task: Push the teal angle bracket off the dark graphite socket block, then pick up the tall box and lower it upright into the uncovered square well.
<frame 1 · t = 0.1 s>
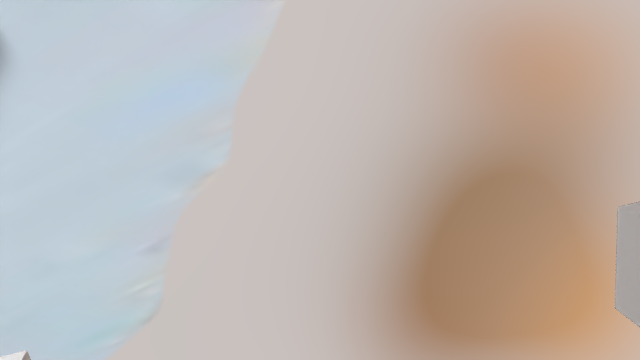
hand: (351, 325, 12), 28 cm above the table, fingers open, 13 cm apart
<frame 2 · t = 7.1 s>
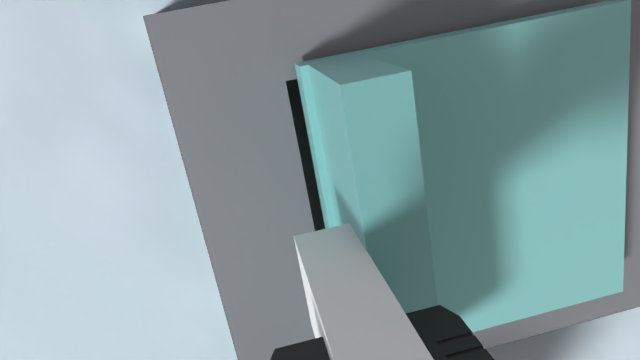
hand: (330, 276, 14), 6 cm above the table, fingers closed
socket block: (466, 155, 20), on the table
teal angle bracket: (508, 211, 15), point 5 cm above the table, slide at 0.8 cm, touching gripper
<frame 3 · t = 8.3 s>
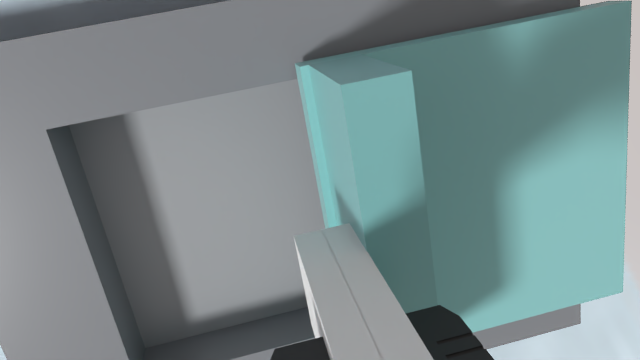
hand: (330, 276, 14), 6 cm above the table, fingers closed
socket block: (290, 196, 19), on the table
teal angle bracket: (508, 212, 15), point 5 cm above the table, slide at 7.8 cm, touching gripper
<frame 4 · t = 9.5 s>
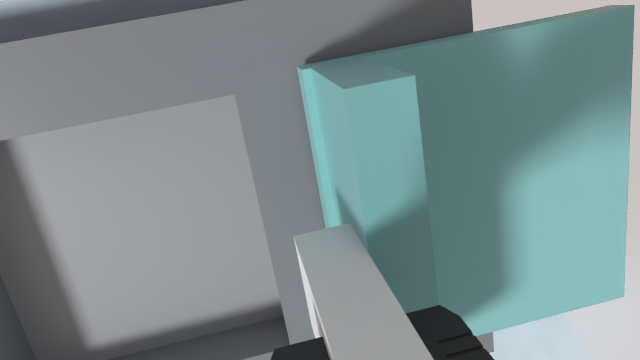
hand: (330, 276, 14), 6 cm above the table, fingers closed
socket block: (191, 221, 19), on the table
teal angle bracket: (509, 216, 15), point 5 cm above the table, slide at 11.4 cm, touching gripper
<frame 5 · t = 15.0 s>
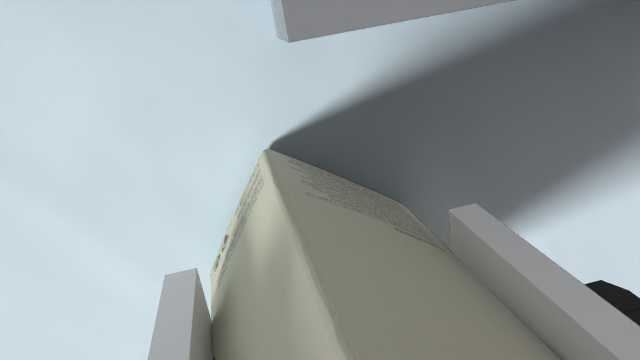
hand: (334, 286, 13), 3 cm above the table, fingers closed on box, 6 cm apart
box: (314, 235, 16), on the table, touching gripper
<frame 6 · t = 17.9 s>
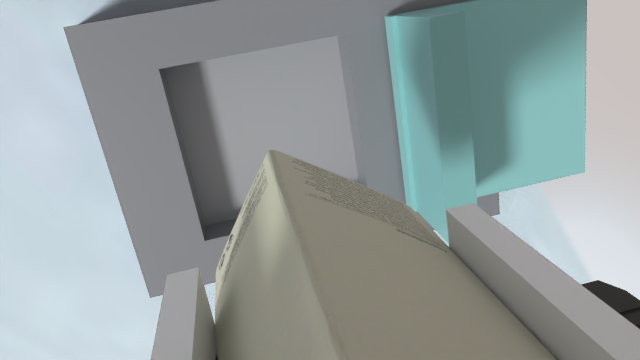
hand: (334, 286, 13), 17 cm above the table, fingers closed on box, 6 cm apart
socket block: (303, 123, 29), on the table
teal angle bracket: (511, 106, 25), point 5 cm above the table, slide at 11.4 cm
box: (318, 235, 16), point 13 cm above the table, touching gripper
when the fingers open (4 cm above the table, at t = 20.1 s): box stays where it is, resting on socket block.
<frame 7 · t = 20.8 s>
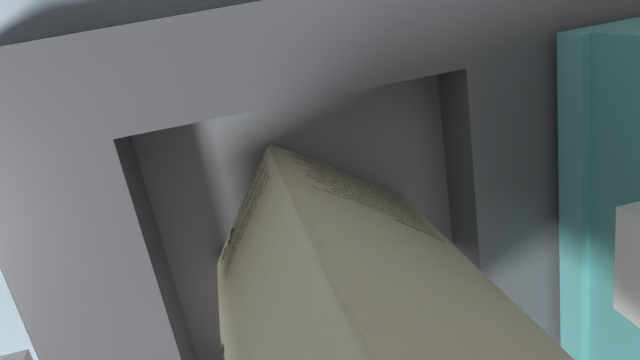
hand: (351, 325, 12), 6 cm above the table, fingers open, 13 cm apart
socket block: (371, 213, 17), on the table
box: (317, 228, 17), resting on socket block
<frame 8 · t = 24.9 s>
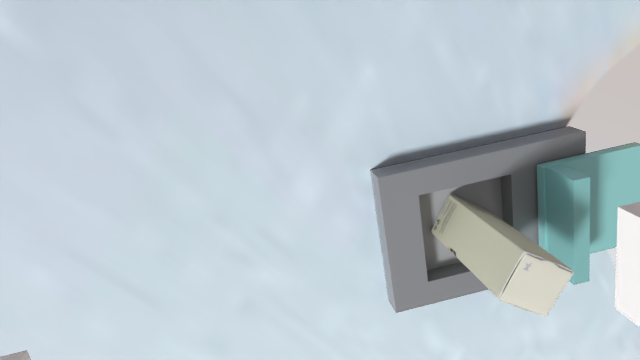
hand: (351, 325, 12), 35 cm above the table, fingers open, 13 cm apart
socket block: (476, 215, 52), on the table
teal angle bracket: (603, 212, 48), point 5 cm above the table, slide at 11.9 cm
box: (460, 219, 51), resting on socket block
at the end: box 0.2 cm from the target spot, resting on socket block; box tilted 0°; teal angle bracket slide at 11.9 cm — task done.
